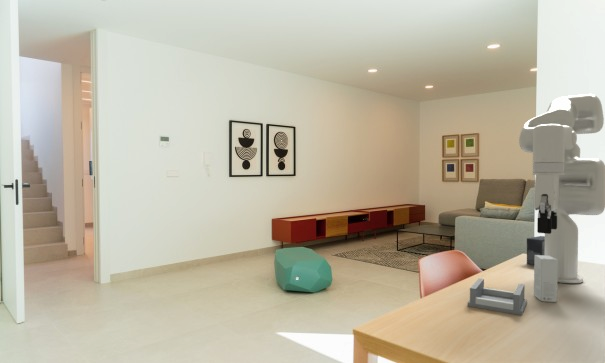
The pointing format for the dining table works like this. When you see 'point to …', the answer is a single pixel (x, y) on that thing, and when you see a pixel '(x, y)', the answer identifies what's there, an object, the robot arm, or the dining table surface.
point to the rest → (497, 298)
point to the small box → (535, 248)
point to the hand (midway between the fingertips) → (547, 231)
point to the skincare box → (545, 278)
